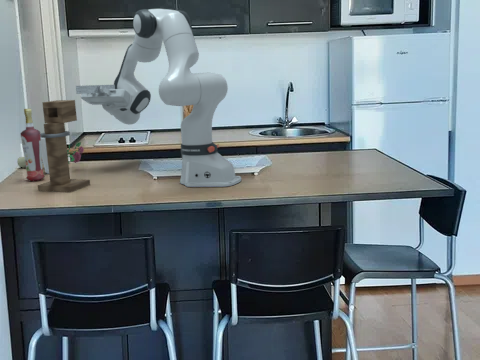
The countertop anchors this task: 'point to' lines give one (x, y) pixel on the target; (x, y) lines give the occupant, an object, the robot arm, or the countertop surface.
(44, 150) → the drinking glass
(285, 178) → the countertop surface
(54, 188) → the rosette stand
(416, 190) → the countertop surface
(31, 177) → the liquor
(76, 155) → the flower vase
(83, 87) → the gray square bar
